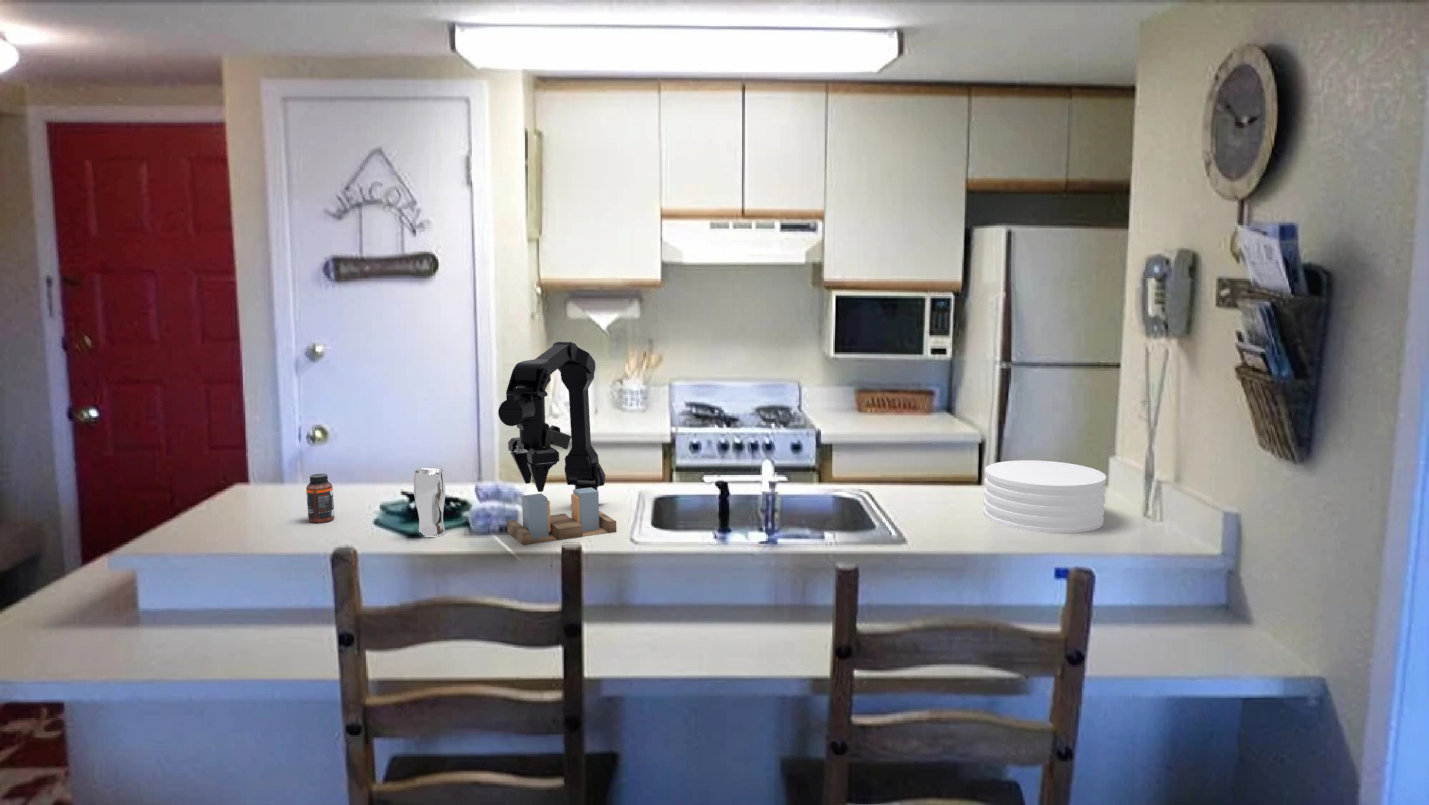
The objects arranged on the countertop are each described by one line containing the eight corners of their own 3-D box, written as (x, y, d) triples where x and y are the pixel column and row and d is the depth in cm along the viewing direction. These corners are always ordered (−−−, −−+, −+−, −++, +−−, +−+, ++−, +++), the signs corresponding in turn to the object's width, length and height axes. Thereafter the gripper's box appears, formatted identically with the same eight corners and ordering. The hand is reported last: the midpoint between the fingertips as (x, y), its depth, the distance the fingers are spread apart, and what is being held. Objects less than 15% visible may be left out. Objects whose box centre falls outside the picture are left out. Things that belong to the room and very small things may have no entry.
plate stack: (1110, 511, 245) (1112, 466, 243) (1095, 540, 221) (1098, 490, 219) (996, 498, 258) (998, 456, 256) (971, 524, 234) (973, 477, 232)
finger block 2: (571, 527, 227) (570, 489, 226) (592, 524, 230) (591, 487, 228) (578, 532, 223) (577, 494, 222) (599, 529, 226) (598, 491, 224)
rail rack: (507, 536, 224) (507, 521, 224) (597, 523, 234) (597, 509, 234) (523, 549, 214) (522, 534, 213) (616, 535, 224) (616, 521, 223)
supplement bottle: (340, 518, 239) (337, 473, 237) (321, 524, 234) (318, 478, 232) (322, 516, 242) (319, 471, 240) (302, 522, 236) (299, 476, 235)
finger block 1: (523, 534, 222) (521, 495, 221) (544, 531, 224) (543, 493, 223) (529, 539, 218) (527, 500, 217) (551, 536, 220) (550, 497, 219)
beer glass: (419, 539, 221) (416, 475, 219) (413, 532, 227) (410, 469, 225) (450, 535, 224) (447, 472, 222) (443, 528, 230) (440, 466, 228)
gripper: (581, 422, 212) (582, 492, 215) (553, 410, 229) (554, 475, 231) (531, 426, 207) (533, 497, 210) (506, 414, 224) (508, 480, 226)
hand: (534, 487), depth 219 cm, fingers open, 9 cm apart
